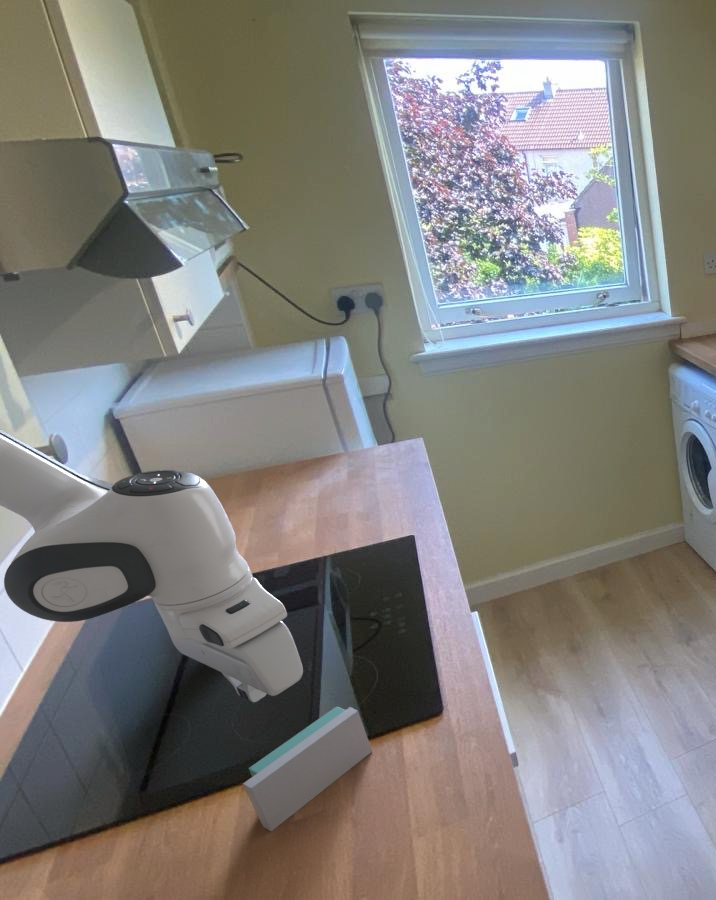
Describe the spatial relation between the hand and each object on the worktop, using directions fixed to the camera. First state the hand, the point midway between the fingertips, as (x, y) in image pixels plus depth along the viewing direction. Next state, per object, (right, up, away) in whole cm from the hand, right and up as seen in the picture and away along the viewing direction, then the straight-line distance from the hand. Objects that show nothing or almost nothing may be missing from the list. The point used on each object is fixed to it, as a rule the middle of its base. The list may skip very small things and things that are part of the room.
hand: (253, 695), depth 89 cm
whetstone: (+6, -12, +2) cm, 13 cm away
